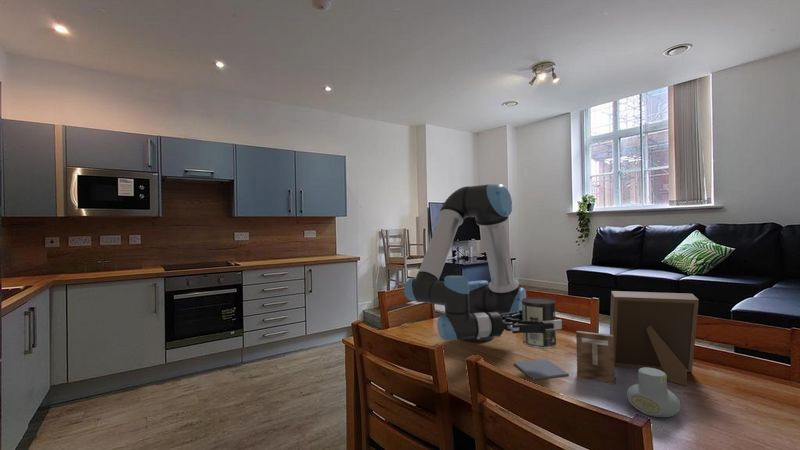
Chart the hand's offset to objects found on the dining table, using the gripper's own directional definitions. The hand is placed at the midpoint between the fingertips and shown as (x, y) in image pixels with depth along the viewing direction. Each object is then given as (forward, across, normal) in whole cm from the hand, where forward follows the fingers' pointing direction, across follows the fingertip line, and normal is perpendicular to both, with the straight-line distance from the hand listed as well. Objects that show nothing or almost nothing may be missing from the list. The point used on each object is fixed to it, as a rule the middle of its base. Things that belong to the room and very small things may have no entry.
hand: (550, 319), depth 116 cm
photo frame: (+28, +11, -16) cm, 34 cm away
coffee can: (-4, 0, -8) cm, 9 cm away
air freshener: (+9, +29, -16) cm, 34 cm away
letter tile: (+9, +9, -16) cm, 20 cm away
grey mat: (-4, 0, -16) cm, 17 cm away
